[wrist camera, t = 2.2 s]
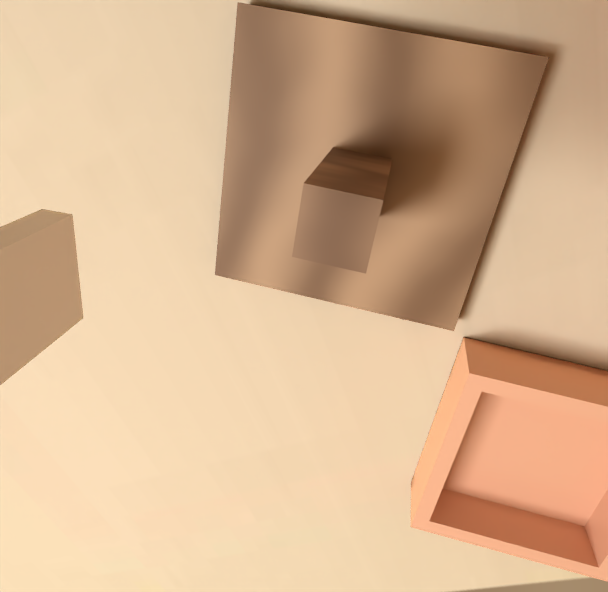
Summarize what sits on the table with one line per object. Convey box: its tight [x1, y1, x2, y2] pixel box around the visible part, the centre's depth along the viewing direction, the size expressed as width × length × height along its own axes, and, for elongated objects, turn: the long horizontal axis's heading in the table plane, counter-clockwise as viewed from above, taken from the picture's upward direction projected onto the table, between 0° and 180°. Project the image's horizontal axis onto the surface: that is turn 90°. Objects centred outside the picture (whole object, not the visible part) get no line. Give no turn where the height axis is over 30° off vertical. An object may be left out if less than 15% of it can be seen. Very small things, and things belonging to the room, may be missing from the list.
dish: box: [411, 337, 608, 581], centre depth 33 cm, size 13×13×4 cm
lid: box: [215, 2, 549, 331], centre depth 25 cm, size 15×15×9 cm
